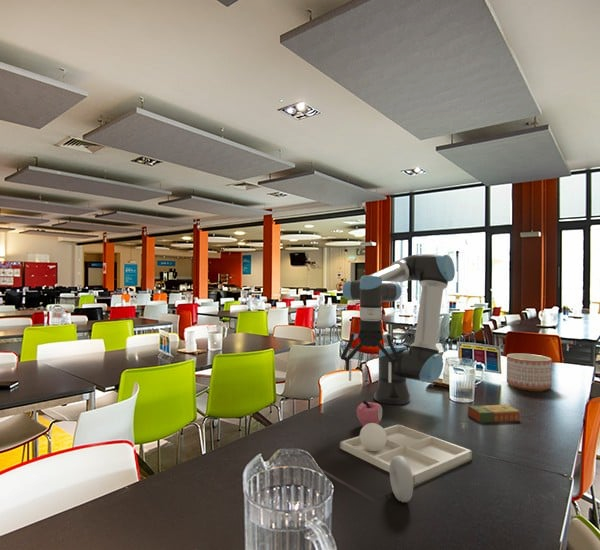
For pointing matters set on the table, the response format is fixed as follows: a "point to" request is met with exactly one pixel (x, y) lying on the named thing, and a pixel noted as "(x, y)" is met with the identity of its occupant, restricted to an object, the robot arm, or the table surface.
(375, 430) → the white ball
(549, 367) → the planter
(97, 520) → the table surface
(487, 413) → the carton
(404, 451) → the tray
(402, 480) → the white thick disc
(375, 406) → the apple
